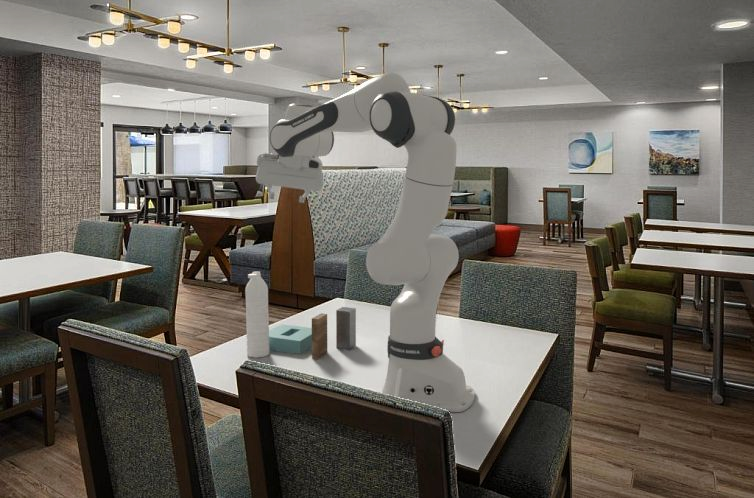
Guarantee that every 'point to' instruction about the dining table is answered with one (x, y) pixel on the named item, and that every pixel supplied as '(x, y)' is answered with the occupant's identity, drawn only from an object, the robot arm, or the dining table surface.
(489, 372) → the dining table surface
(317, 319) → the walnut blade
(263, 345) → the water bottle
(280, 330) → the socket block
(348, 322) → the square metal peg
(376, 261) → the robot arm
